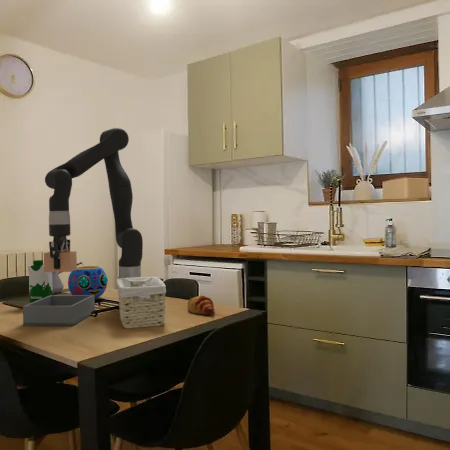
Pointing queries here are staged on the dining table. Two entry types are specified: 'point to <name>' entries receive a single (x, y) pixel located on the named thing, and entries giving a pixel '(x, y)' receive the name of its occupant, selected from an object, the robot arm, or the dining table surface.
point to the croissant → (201, 305)
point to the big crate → (58, 310)
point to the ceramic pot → (87, 281)
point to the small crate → (61, 262)
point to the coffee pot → (57, 282)
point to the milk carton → (39, 281)
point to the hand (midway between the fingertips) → (60, 267)
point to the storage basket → (141, 302)
